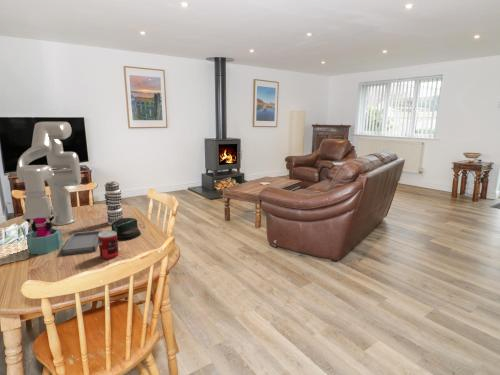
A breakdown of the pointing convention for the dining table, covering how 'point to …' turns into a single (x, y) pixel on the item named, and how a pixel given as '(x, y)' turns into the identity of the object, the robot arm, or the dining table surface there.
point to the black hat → (126, 229)
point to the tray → (81, 243)
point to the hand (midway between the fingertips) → (42, 230)
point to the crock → (44, 242)
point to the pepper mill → (41, 227)
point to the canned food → (108, 244)
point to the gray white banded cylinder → (113, 201)
